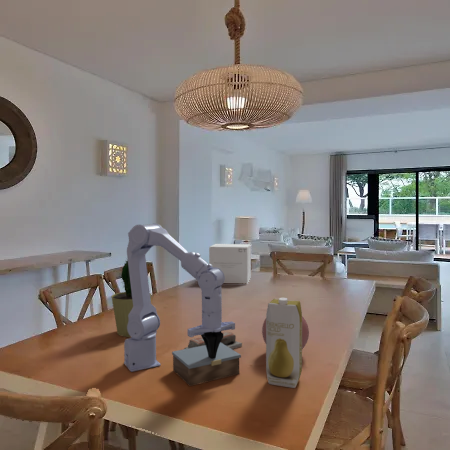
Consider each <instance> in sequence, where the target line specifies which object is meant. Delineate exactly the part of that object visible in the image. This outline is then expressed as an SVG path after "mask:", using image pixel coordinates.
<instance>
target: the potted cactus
mask: <svg viewBox="0 0 450 450" xmlns="http://www.w3.org/2000/svg"><path fill="white" fill-rule="evenodd" d="M125 258H126V259H125V262H124V265H123V266H122V268H121V273H119V275H120V279H121V283H122V288H123V289H124V291H123V292H117V293H114V294H112V295H111V302H112V308H113V313H114V314H113V315H114V320H115V321H114V322H115V324H116V325H115V328H116V333H117V335H118V336H121V337H126V338H131V336H130V335H129V333H128V330H127V325H128V321H129V318H128V315H129V313H130V311H131V310H132V308H133V300H132V292H131V283H130V275H129V266H128V258H127V257H125ZM150 299H151V300H152V293H151V292H150Z"/></svg>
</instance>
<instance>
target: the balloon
mask: <svg viewBox="0 0 450 450" xmlns="http://www.w3.org/2000/svg"><path fill="white" fill-rule="evenodd" d="M261 328H262V329H261V334H262V338H263V341H264V344H266V318H265V319H264V321H263V323H262V327H261ZM309 330H310V329H309V325H308V323H307V320H306V318H305V317H304V315H302V350H303V349H304V348H305V346H306V344H308V341H309V337H310V336H309V334H310V331H309Z"/></svg>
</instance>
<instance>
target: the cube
mask: <svg viewBox="0 0 450 450" xmlns="http://www.w3.org/2000/svg"><path fill="white" fill-rule="evenodd" d="M208 248H209V249H208V250H209V251H208V252H209V254H208V261H209V262H208V264H211V265H212V267H217V268H220V269H221V271H222V272H223V273H224V276H225V280H224V283H247V284H248V285H249V283H248V282H250V281H251V279H252V244H250V243H249V244H248V243H247V244H246V243H244V244H243V243H214V244H212V245H210V246H209V247H208ZM250 278H251V279H250ZM249 280H250V281H249Z"/></svg>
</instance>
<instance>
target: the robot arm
mask: <svg viewBox="0 0 450 450" xmlns="http://www.w3.org/2000/svg"><path fill="white" fill-rule="evenodd" d="M127 235H128V242H127V247H126V258H127V259H128V266H129V275H130V283H131V292H132V300H133V308H132V310H131V311H130V313H129V315H128V318H129V321H128V325H127V330H128V333H129V335H130V336H131V337H128V338H126V339H125V340H124V345H123V346H124V347H123V348H124V349H123V350H124V355H123V356H124V359H123V360H124V362H123V363H124V365H125V366H126V368H127V369H128V370H129V371H130V372H131V373H132V372H137V371H141V370H146V369H150V368H155V367H160V366H161V363H160V362H159V361H158V360H157V332H158V329H159V328H160V326H161V319H160V316H159V315H158V312H157V308H156V306H155V305H153V304H152V298H151V299H150V293H151V292H150V291H151V290H150V285H149V276H148V275H149V274H148V268H147V260H146V259H147V258H146V254H147V253H148V252H149V251H150V250H151V248H152V247H154V246H155V247H161V248H163V249H164V250H165V251H167V252H168V253H169V254H171V255H172V256H174V257H175V258H176V259H177V260H179V261H180V266H181V268H182V269H183V270H184V271H185V272H187V273H188V274H189V275H190V276H192V277H193V278H194V279H195V280H197V284H198V286H199V288H200V290H201V324H200V325H197V326H193V327H190V328H187V337H189V338H194V337H195V336H200V337H202V338H203V340H204V343H205V345H206V348H207V352H208V357H210V358H211V359H213V358H216V354H217V350H218V347H219V344H220V342H221V340H222V338H223V331H224V332H225V331H228V330H230V331H232V330H236V322H234V321H223V317H222V316H223V315H222V314H223V312H222V310H223V309H222V308H223V307H222V306H223V303H222V302H223V301H222V300H223V297H222V286H223V285H224V284H223V283H224V280H225V276H224V273H223V272H222V271H221V269H220V268H217V267H212V265H211V264H209V262H207V261H206V260H204V259H203V258H202V257H201V256H202V255H201V254H200V253H199V252H195V251H190V252H189V251H188V250H187V249H186V248H184V247H183V246H182V244H180V243H179V242H178V241H177V240H176V239H174V237H173V236H171V235H170V234H169V232H168V230H167V229H166V228H164V227H162V225H161V224H159V223H152V224H151V223H150V224H136V225H134V226H132V228H131V229H130V230H129V232H128V233H127Z"/></svg>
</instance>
